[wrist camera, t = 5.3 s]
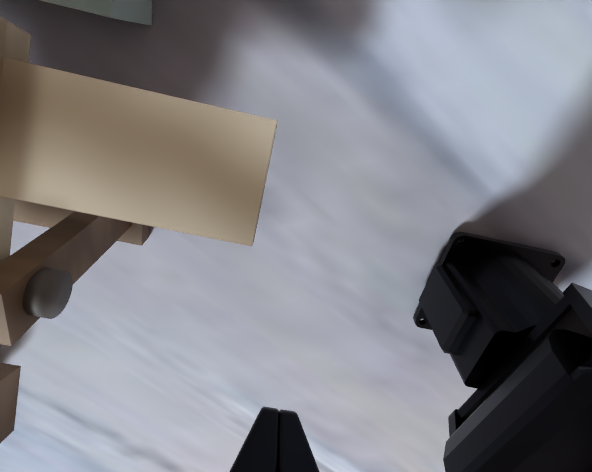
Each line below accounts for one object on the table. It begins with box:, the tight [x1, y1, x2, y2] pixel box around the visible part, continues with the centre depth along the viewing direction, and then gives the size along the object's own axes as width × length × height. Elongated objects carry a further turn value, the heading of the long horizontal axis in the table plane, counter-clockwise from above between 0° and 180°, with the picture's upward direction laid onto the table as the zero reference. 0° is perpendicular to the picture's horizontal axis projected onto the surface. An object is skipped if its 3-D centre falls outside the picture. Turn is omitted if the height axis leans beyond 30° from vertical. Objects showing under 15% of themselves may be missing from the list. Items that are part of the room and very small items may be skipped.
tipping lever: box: [0, 17, 277, 443], centre depth 12 cm, size 16×15×5 cm
